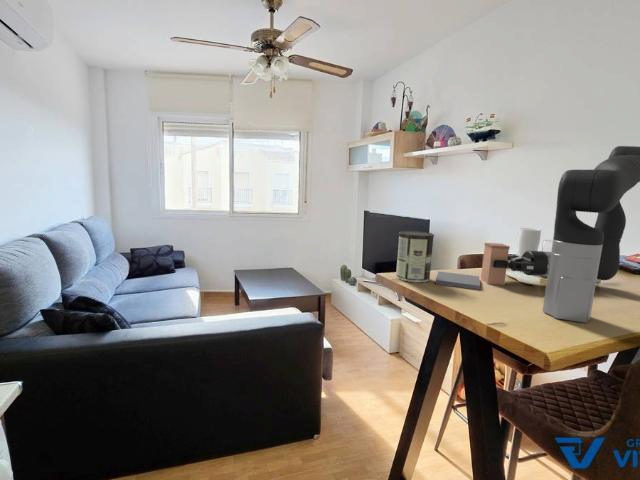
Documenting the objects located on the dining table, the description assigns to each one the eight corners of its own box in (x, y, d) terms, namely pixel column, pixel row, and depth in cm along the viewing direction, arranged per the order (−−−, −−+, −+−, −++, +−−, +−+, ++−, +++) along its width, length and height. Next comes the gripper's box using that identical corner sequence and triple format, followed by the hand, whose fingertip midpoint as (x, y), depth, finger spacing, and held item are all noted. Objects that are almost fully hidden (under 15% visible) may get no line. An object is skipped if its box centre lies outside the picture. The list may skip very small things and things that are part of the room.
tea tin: (504, 284, 109) (509, 246, 107) (487, 283, 109) (492, 245, 107) (496, 280, 114) (501, 243, 112) (480, 279, 114) (484, 242, 112)
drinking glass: (529, 269, 132) (535, 228, 130) (538, 273, 126) (545, 230, 123) (510, 267, 133) (515, 227, 131) (518, 272, 126) (524, 229, 124)
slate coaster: (479, 289, 102) (480, 285, 102) (435, 283, 106) (435, 279, 106) (478, 280, 113) (478, 276, 113) (438, 274, 117) (438, 271, 117)
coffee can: (415, 273, 118) (419, 230, 116) (436, 281, 109) (441, 235, 106) (388, 274, 114) (392, 230, 112) (408, 283, 105) (412, 235, 103)
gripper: (531, 247, 117) (479, 244, 117) (558, 256, 103) (499, 253, 103) (527, 270, 118) (476, 267, 118) (554, 281, 104) (496, 278, 104)
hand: (487, 260), depth 111 cm, fingers open, 7 cm apart
